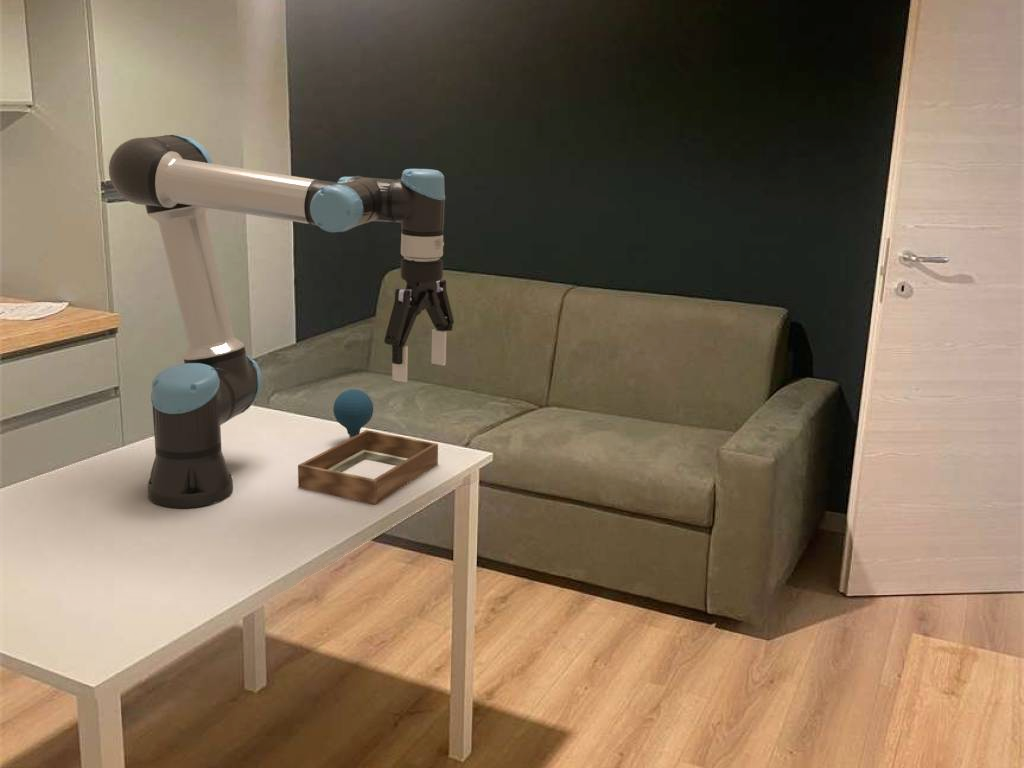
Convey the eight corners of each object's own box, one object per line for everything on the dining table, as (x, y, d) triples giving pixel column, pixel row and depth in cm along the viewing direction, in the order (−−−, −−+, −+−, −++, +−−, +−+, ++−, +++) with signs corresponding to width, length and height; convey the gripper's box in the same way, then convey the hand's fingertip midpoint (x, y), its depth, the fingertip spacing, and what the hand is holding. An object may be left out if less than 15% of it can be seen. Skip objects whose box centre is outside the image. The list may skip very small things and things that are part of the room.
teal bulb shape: (370, 451, 221) (370, 396, 218) (330, 449, 221) (329, 395, 218) (376, 438, 229) (375, 385, 226) (337, 436, 229) (336, 383, 226)
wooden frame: (298, 487, 200) (297, 465, 199) (366, 450, 221) (366, 429, 220) (374, 504, 194) (374, 481, 192) (437, 464, 215) (438, 443, 213)
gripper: (402, 269, 176) (400, 391, 181) (474, 251, 197) (470, 360, 203) (364, 264, 179) (364, 384, 185) (439, 247, 200) (436, 354, 206)
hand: (419, 372), depth 194 cm, fingers open, 13 cm apart
